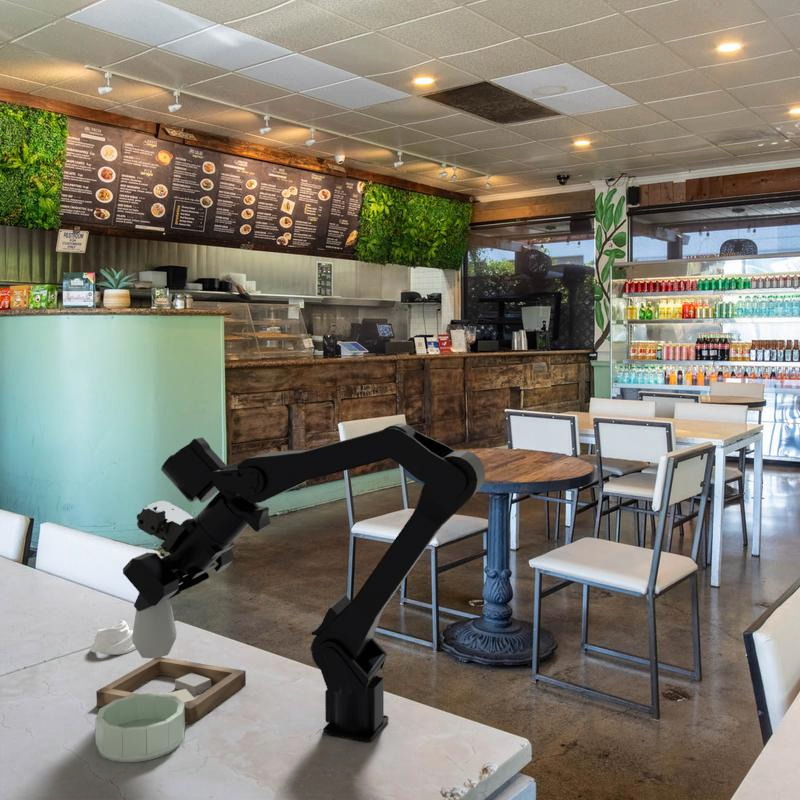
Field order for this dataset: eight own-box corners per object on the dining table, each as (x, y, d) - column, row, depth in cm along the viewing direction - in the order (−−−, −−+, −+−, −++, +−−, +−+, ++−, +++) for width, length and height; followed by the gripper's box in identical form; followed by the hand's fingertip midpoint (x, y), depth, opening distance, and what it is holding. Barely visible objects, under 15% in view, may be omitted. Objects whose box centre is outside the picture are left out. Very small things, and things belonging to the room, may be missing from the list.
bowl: (200, 730, 100) (199, 700, 100) (148, 768, 91) (148, 736, 91) (134, 717, 104) (134, 688, 104) (78, 753, 95) (78, 722, 94)
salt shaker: (165, 662, 105) (162, 564, 104) (124, 660, 106) (121, 563, 105) (184, 646, 111) (181, 553, 110) (145, 644, 112) (142, 552, 111)
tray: (245, 684, 114) (245, 670, 114) (191, 724, 102) (191, 708, 102) (158, 669, 119) (157, 656, 119) (96, 705, 107) (96, 691, 107)
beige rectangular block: (195, 711, 107) (195, 699, 106) (173, 717, 105) (173, 705, 105) (186, 700, 110) (185, 688, 110) (164, 705, 108) (164, 694, 108)
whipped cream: (106, 667, 123) (105, 638, 122) (78, 655, 126) (77, 626, 126) (148, 648, 130) (147, 619, 129) (120, 636, 133) (119, 608, 132)
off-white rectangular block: (211, 690, 113) (210, 679, 113) (194, 697, 111) (194, 686, 111) (191, 683, 115) (191, 672, 115) (175, 690, 113) (175, 679, 113)
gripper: (212, 472, 115) (146, 544, 119) (134, 494, 97) (60, 578, 101) (263, 529, 113) (195, 600, 117) (193, 563, 95) (116, 645, 99)
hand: (144, 604), depth 108 cm, fingers closed on salt shaker, 3 cm apart
